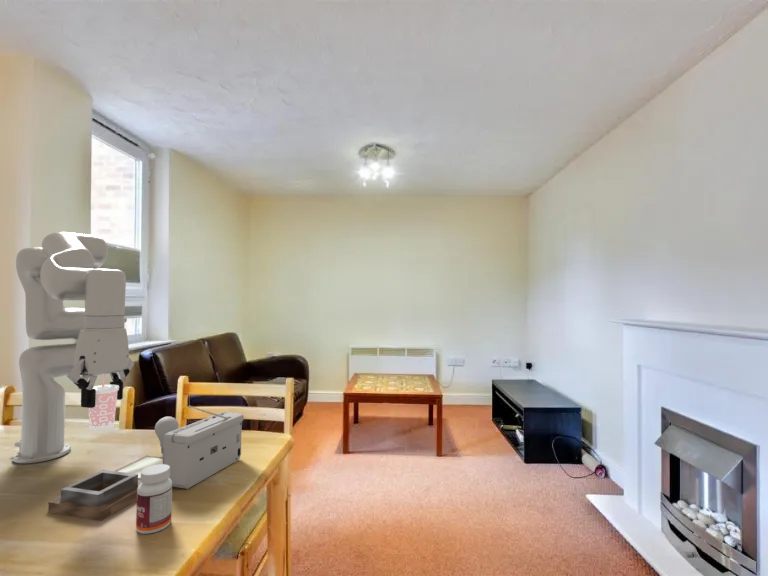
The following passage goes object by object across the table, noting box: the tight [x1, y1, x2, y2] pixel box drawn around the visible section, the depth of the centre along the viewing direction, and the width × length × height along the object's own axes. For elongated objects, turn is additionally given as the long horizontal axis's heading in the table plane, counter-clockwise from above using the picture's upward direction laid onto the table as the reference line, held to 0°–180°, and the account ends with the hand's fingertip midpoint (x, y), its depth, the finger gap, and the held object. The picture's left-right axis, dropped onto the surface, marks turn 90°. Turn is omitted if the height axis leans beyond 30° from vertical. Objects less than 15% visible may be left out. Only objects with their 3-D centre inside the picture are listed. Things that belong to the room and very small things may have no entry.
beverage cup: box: [87, 374, 119, 432], centre depth 90 cm, size 6×6×14 cm
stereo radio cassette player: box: [162, 405, 245, 490], centre depth 105 cm, size 21×8×20 cm, turn 160°
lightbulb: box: [154, 416, 179, 455], centre depth 116 cm, size 6×6×11 cm
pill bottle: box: [135, 464, 173, 535], centre depth 80 cm, size 6×6×11 cm
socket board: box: [47, 455, 163, 521], centre depth 96 cm, size 14×26×4 cm, turn 167°
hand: (102, 402), depth 90 cm, fingers closed on beverage cup, 6 cm apart
